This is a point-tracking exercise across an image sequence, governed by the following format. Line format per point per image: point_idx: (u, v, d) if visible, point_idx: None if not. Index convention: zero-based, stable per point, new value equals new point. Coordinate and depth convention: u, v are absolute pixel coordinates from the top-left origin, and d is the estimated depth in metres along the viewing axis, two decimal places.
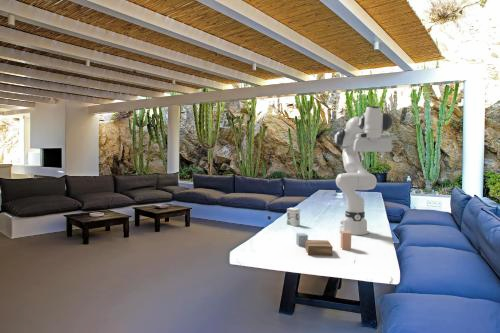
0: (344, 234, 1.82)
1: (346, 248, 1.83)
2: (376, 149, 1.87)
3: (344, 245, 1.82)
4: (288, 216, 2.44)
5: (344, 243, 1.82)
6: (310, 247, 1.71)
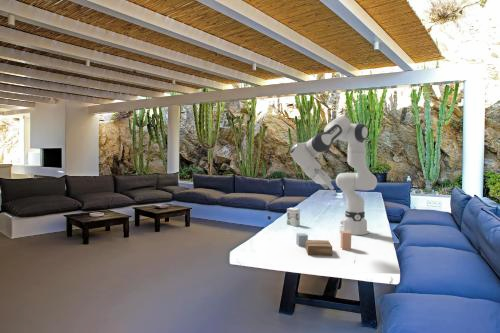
0: (344, 234, 1.82)
1: (346, 248, 1.83)
2: (321, 182, 1.81)
3: (344, 245, 1.82)
4: (288, 216, 2.44)
5: (344, 243, 1.82)
6: (310, 247, 1.72)
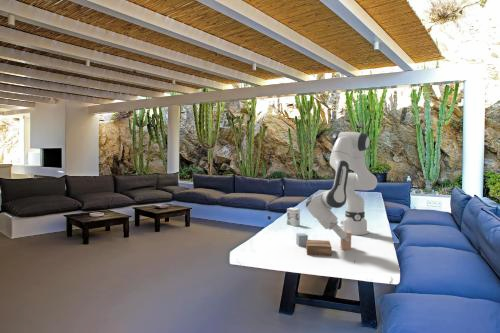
0: None
1: (346, 248, 1.83)
2: None
3: (344, 245, 1.82)
4: (288, 216, 2.44)
5: (344, 243, 1.82)
6: (309, 247, 1.72)
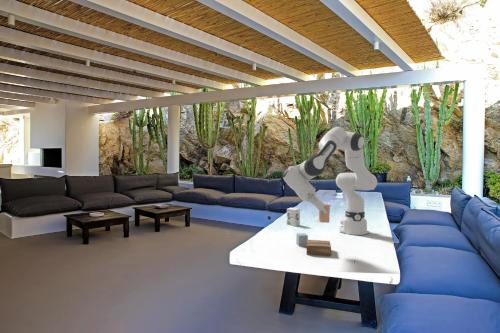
0: None
1: (324, 221, 1.75)
2: None
3: (322, 218, 1.75)
4: (288, 216, 2.44)
5: (322, 215, 1.75)
6: (308, 247, 1.72)
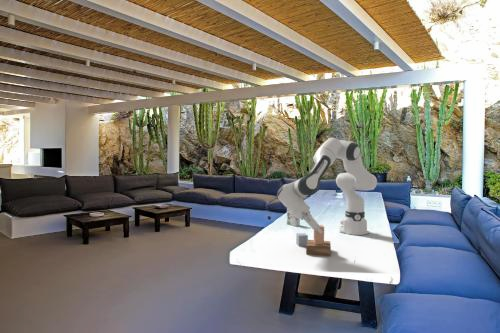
0: None
1: (319, 243, 1.75)
2: None
3: (317, 239, 1.75)
4: (288, 216, 2.44)
5: (317, 237, 1.75)
6: (308, 247, 1.72)
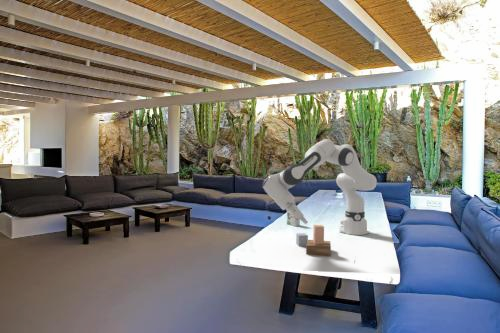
0: (317, 228, 1.75)
1: (319, 242, 1.75)
2: None
3: (317, 239, 1.75)
4: (288, 216, 2.44)
5: (317, 237, 1.75)
6: (308, 247, 1.72)
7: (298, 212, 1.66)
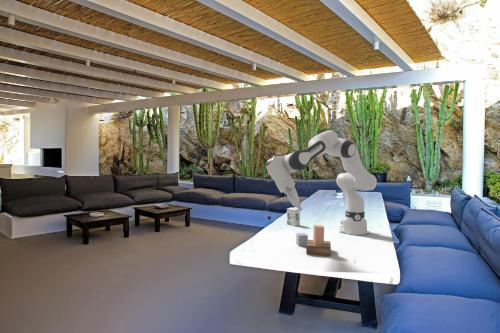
0: (317, 228, 1.74)
1: (319, 243, 1.75)
2: None
3: (317, 240, 1.75)
4: (288, 216, 2.44)
5: (317, 238, 1.75)
6: (308, 247, 1.72)
7: (295, 199, 1.68)
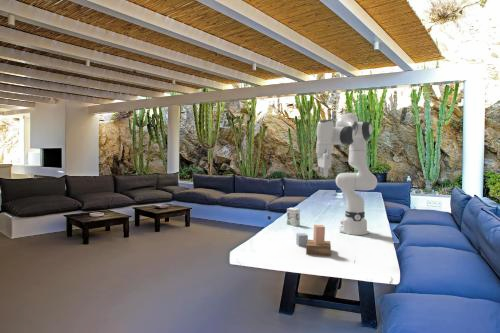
0: (318, 228, 1.74)
1: (319, 242, 1.75)
2: (321, 165, 1.80)
3: (317, 239, 1.75)
4: (288, 216, 2.44)
5: (317, 237, 1.75)
6: (308, 246, 1.72)
7: (329, 162, 1.71)
